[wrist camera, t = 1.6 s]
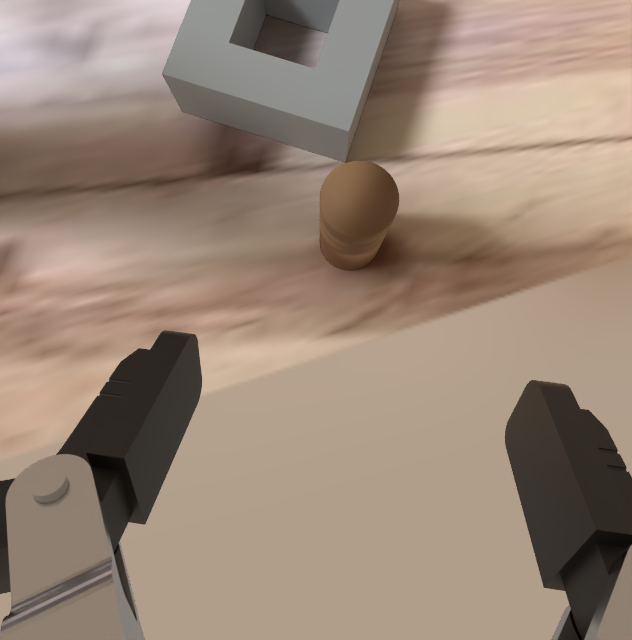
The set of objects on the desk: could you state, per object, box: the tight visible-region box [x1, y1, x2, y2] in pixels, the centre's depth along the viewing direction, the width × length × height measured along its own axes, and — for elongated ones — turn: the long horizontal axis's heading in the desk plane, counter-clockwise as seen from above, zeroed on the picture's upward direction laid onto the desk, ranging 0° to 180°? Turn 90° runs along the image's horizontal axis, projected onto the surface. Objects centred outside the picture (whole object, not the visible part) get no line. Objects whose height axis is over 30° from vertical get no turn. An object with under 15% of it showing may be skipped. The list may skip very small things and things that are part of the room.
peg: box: [320, 161, 399, 270], centre depth 33 cm, size 5×5×10 cm
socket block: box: [162, 0, 399, 162], centre depth 37 cm, size 15×15×5 cm
